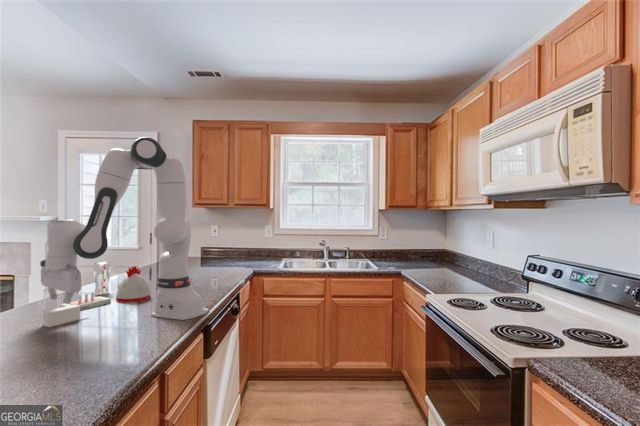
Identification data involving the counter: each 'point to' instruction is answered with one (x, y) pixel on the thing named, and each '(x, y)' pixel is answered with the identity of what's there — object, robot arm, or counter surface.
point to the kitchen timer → (133, 287)
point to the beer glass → (102, 277)
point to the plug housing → (62, 315)
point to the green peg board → (89, 301)
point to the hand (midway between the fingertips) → (60, 301)
